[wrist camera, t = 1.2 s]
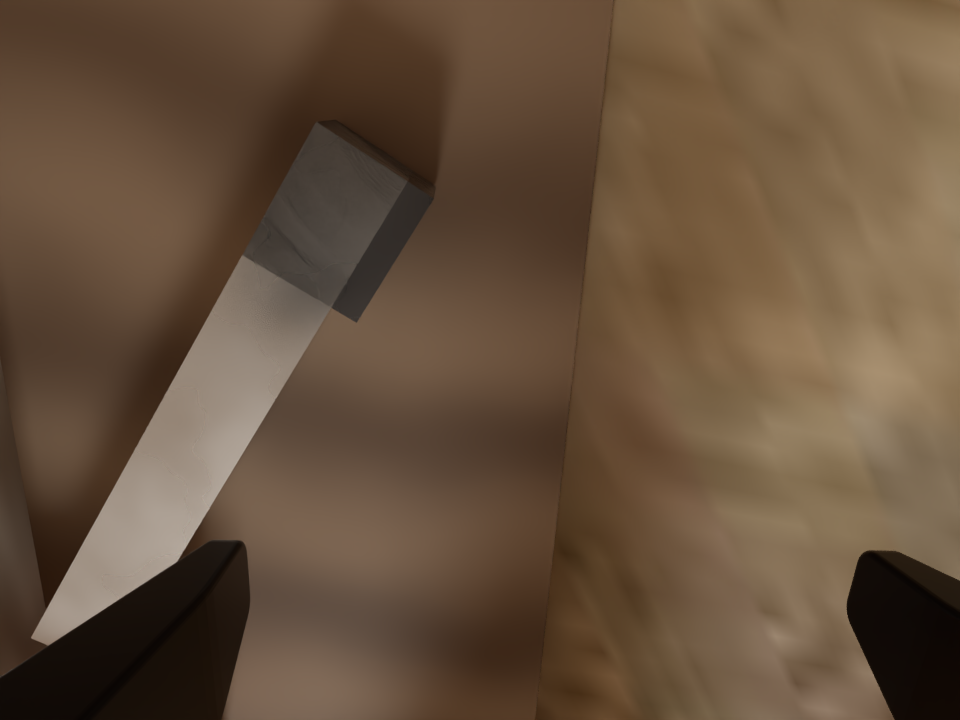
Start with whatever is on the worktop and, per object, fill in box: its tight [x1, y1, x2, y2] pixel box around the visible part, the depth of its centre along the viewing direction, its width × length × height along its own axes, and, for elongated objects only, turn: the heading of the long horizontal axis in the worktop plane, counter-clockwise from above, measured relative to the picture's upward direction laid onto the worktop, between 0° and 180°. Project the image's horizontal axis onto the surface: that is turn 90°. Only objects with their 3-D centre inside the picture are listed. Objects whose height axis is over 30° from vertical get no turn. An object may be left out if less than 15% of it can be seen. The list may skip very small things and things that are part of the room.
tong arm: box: [31, 119, 436, 645], centre depth 16 cm, size 14×3×2 cm, turn 147°
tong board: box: [0, 0, 614, 720], centre depth 17 cm, size 26×22×3 cm
